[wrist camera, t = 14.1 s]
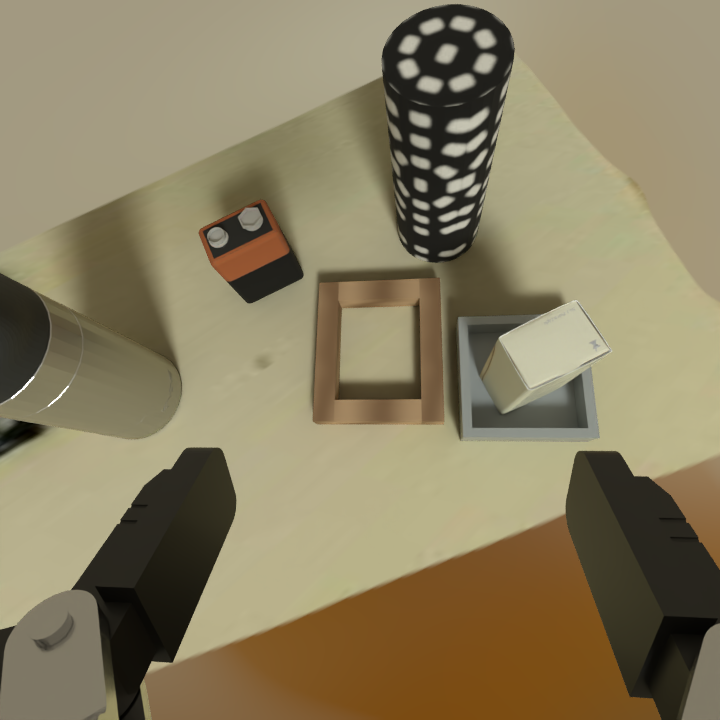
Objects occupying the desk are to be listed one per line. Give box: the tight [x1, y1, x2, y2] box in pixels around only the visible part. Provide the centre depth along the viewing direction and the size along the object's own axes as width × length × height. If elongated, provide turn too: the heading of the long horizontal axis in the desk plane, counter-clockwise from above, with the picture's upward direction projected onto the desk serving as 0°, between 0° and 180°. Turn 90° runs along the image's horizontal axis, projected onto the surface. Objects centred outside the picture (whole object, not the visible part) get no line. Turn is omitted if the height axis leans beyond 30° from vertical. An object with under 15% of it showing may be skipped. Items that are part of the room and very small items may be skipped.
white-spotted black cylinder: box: [382, 4, 515, 263], centre depth 38 cm, size 8×8×20 cm
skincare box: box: [479, 300, 612, 415], centre depth 36 cm, size 6×4×12 cm
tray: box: [456, 314, 600, 442], centre depth 41 cm, size 11×11×3 cm
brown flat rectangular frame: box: [313, 278, 444, 424], centre depth 44 cm, size 12×14×2 cm
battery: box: [199, 200, 303, 303], centre depth 44 cm, size 4×7×10 cm, turn 116°
